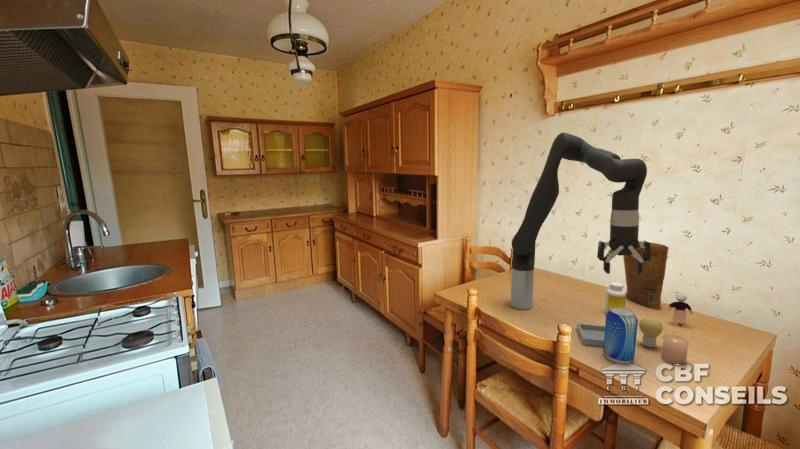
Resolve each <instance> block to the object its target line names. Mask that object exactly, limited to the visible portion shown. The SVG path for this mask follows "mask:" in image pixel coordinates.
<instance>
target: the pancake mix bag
mask: <svg viewBox="0 0 800 449" xmlns="http://www.w3.org/2000/svg"><path fill="white" fill-rule="evenodd" d="M643 241H644V240H642V241H641V240H638V242H643ZM649 243H650V261H645V262H643V269H642V272H640V274H636V273H635V261H637V260H636V259H635V258H634V256H633V255H632V254H631V255H630V256H627V255H622V256H623V257H622V258H623V264H624V272H625V273H624V275H625V284H626V285H625V286H626V292H625V299H627V300H629V301H631V302H634V303H636V304H639V305H641V306H644V307H646V308H648V309H652V310H662V306H661V301H662V292H663V287H664V281H665V275H666V267H667V260H668V255H669V249H670V248H669V246H667V245H665V244H662V243H661V244H660V243H655V242H649ZM636 251H637V253H638V254H639V255H640V257H643V248H641V246H640V245H639V247H638V248H637V249H636Z"/></svg>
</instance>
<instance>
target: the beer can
mask: <svg viewBox="0 0 800 449" xmlns="http://www.w3.org/2000/svg"><path fill="white" fill-rule="evenodd" d="M635 314H636V313H635V311H634V310H632V309H630V308H629V307H628V308H627V307H611V308H610V311H609V312H608V313H605V323H604V324H605V325H604V326H605V335H604V347H602V348H603V350H602V351H603V355H605V357H606V359H608V360H609V361H612V362H614V363H616V364H620V365H626V364H628V365H629V364H630V363H632V361H634V360H635V354H636V344H637V334H638V326H639V321H638V318H637V315H635Z"/></svg>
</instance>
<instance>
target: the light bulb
mask: <svg viewBox="0 0 800 449" xmlns="http://www.w3.org/2000/svg"><path fill="white" fill-rule="evenodd" d="M638 326H639V329H640V332H641V333H642V334H643V335H642V344H643V346H645V347H648V348H655V347H656V345H657V337H659V335H661V334H662V332H663V329H664V328H663V327H664V326H663V323H662V322H661V321H660V320H659V319H657V318H655V317H651V316H645V317H642V318H641V319H640V321H639V322H638Z"/></svg>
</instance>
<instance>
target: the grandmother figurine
mask: <svg viewBox="0 0 800 449" xmlns="http://www.w3.org/2000/svg"><path fill="white" fill-rule="evenodd" d="M675 299H676V300H677V301H673V302H671V303H669V304H668V307H666V310H667V311H671V309H673V308H674V310H673V317H672V319H673V321H672V323H671V324H672V325H673V326H674V327H675V326H676V327H679V326H681V327H684V328H687V327H688V324H687V311H688V312H689V314H690V315H693V314H694V311H693V309H692V307H691V306H690V305H689V304H688V303H687V302H685V301H686V300H687V299H688V297H687V294H686V293H685V292H678V293H676V295H675Z"/></svg>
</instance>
